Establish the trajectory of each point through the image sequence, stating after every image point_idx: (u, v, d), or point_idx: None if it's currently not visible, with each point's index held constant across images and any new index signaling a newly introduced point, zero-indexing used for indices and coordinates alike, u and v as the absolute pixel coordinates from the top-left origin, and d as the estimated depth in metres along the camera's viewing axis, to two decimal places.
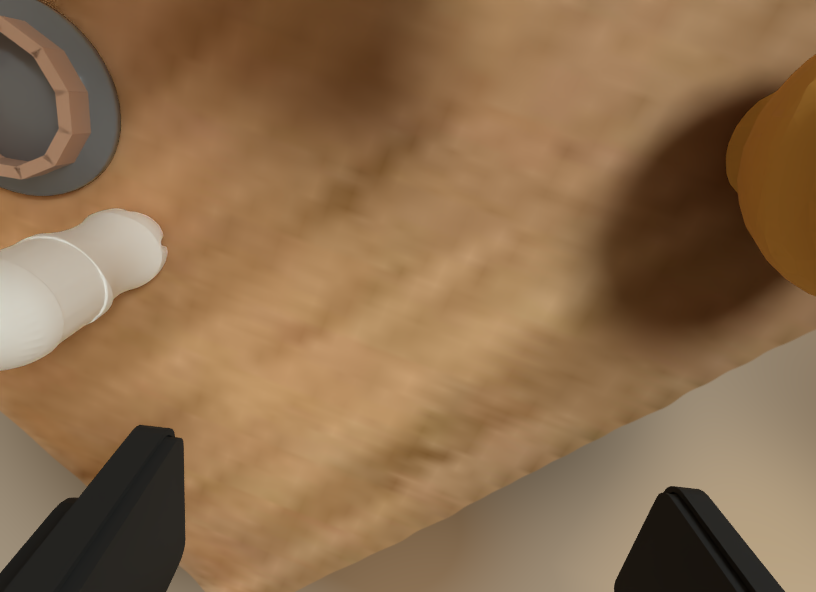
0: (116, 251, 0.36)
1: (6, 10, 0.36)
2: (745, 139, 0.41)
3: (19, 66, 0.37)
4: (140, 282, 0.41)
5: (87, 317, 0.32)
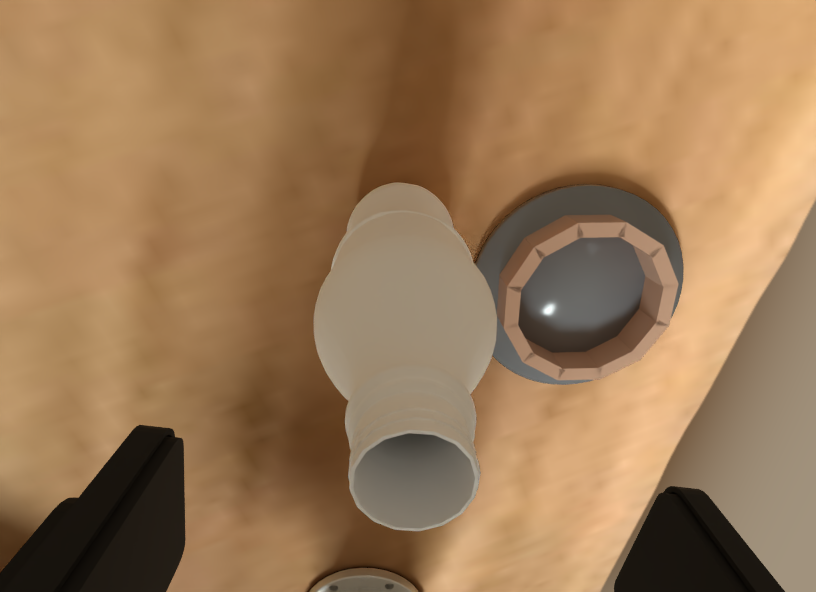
0: None
1: None
2: None
3: (580, 325, 0.36)
4: None
5: None
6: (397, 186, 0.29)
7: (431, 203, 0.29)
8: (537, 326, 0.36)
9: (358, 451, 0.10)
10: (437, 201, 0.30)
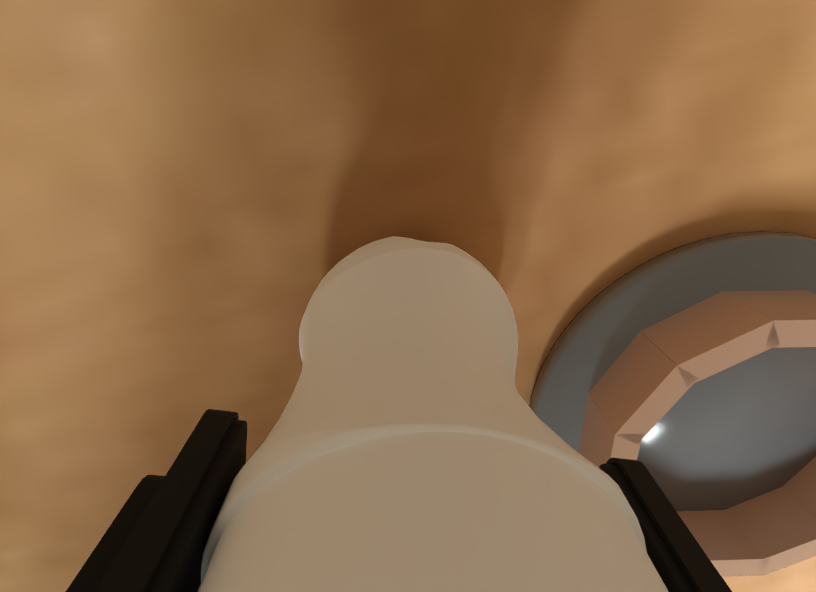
0: None
1: None
2: None
3: (721, 470, 0.20)
4: (303, 351, 0.14)
5: None
6: (404, 253, 0.13)
7: (478, 291, 0.13)
8: None
9: None
10: (487, 279, 0.14)
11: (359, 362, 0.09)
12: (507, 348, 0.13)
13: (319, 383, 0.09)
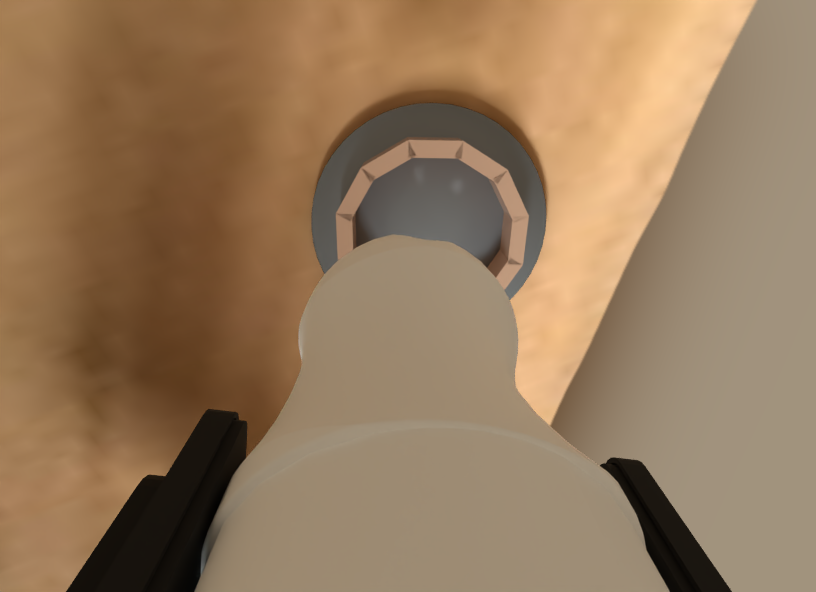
0: None
1: None
2: None
3: None
4: (302, 349, 0.14)
5: None
6: (403, 251, 0.13)
7: (478, 289, 0.13)
8: None
9: None
10: (486, 277, 0.14)
11: (358, 359, 0.09)
12: (507, 346, 0.13)
13: (318, 380, 0.09)
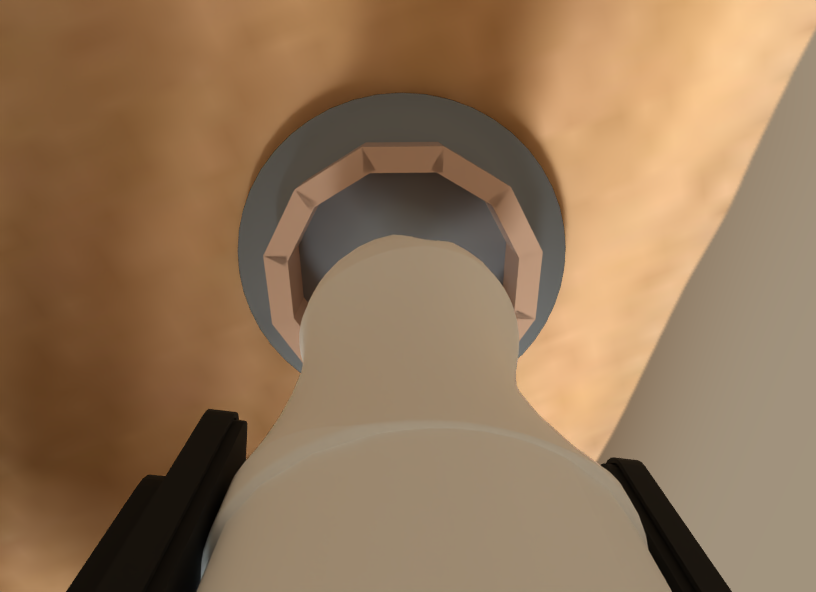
0: None
1: None
2: None
3: None
4: (303, 349, 0.14)
5: None
6: (404, 251, 0.13)
7: (479, 289, 0.13)
8: None
9: None
10: (488, 277, 0.14)
11: (360, 359, 0.09)
12: (508, 346, 0.13)
13: (319, 380, 0.09)
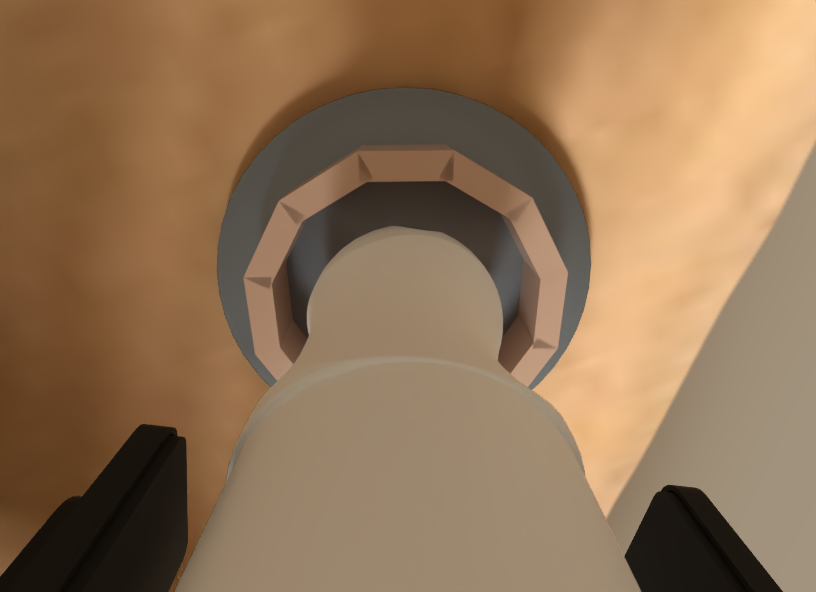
0: None
1: None
2: None
3: None
4: (310, 325, 0.15)
5: None
6: (398, 239, 0.15)
7: (464, 272, 0.15)
8: None
9: None
10: (473, 263, 0.16)
11: (355, 322, 0.10)
12: (490, 323, 0.15)
13: (322, 339, 0.11)
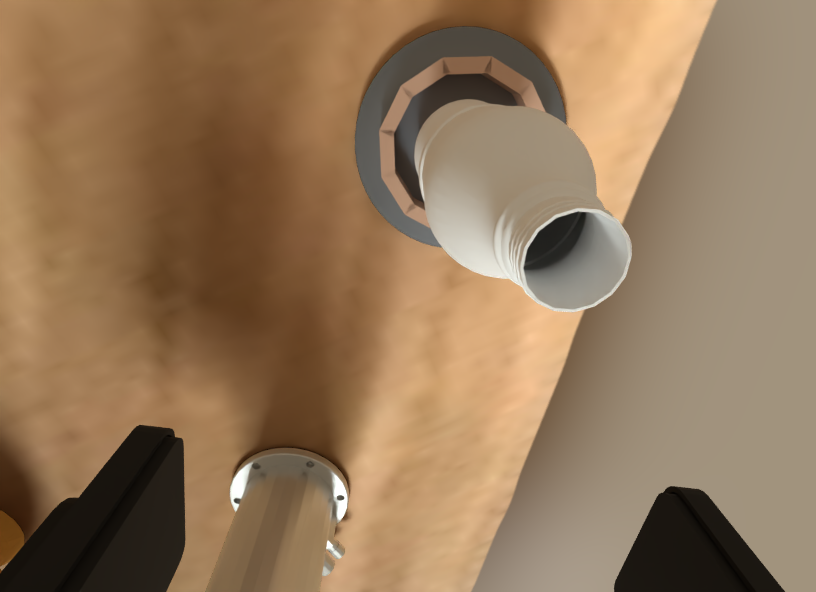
0: None
1: None
2: None
3: None
4: (421, 148, 0.31)
5: None
6: (466, 100, 0.30)
7: None
8: None
9: (529, 234, 0.12)
10: None
11: None
12: None
13: None
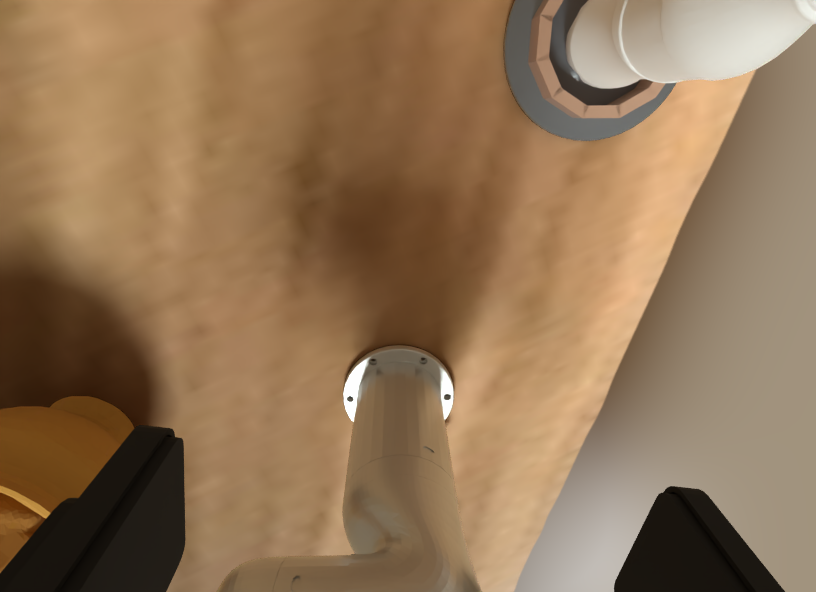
0: (623, 72, 0.33)
1: None
2: (114, 421, 0.53)
3: None
4: (584, 25, 0.35)
5: (636, 25, 0.27)
6: None
7: None
8: (563, 76, 0.40)
9: None
10: None
11: None
12: None
13: None
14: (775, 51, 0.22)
